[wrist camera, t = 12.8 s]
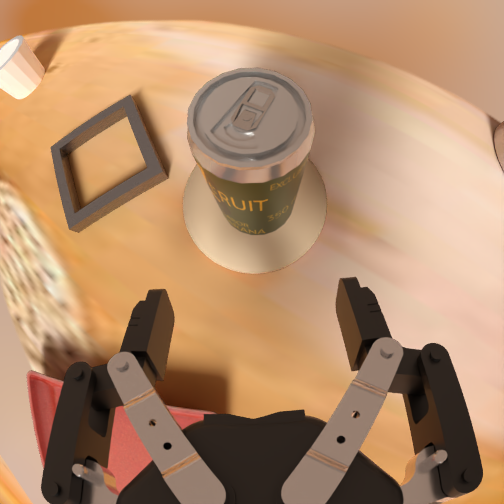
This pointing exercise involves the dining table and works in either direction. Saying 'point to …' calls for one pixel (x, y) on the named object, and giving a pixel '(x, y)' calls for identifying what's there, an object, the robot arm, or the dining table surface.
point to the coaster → (254, 246)
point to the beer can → (252, 145)
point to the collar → (123, 191)
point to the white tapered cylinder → (19, 68)
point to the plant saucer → (123, 433)
